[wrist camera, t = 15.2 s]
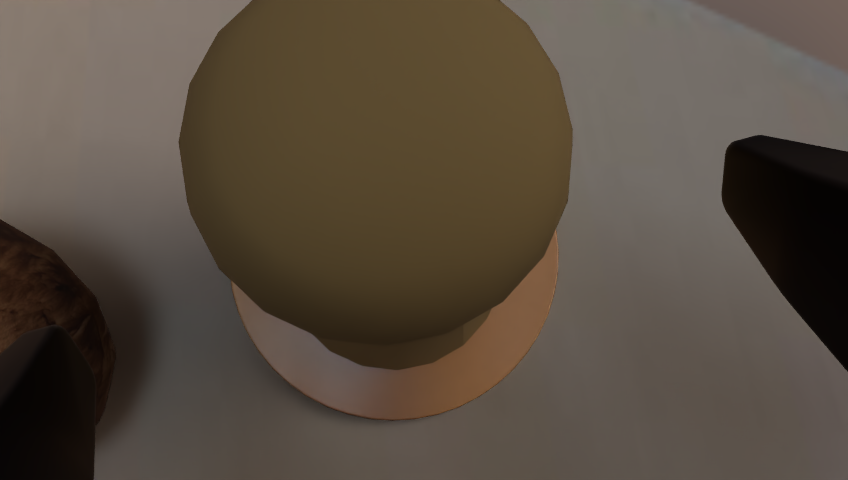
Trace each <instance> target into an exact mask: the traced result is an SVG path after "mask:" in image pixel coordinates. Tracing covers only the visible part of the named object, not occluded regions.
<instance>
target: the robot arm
mask: <svg viewBox="0 0 848 480" xmlns="http://www.w3.org/2000/svg"><path fill="white" fill-rule="evenodd" d="M722 202H723V205H724V208H725V210H726V212H727V214H728V215H729V217H730V218H731V220H732V221H733V223H734V224H735V226H736V227H737V229H738V230H739V231H740V233H741V234H742V236H743V237H744V239H745V240H746V242H747V243H748V245H749V246H750V248H751V249H752V251H753V252H754V254H755V255H756V257H757V258H758V260H759V261H760V263H761V264H762V266H763V267H764V269H765V270H766V272H767V273H768V275H769V276H770V278H771V279H772V281H773V282H774V283H775V285H776V286H777V287H778V289H779V290H780V292H781V293H782V294H783V296H784V297H785V298H786V299H787V301H788V302H789V303H790V304H791V306H792V307H793V308H794V309H795V310H796V312H797V313H798V314H799V315H800V316H801V317H802V319H803V320H804V321H805V322H806V323H807V324H808V326H809V327H810V328H811V329H812V330H813V332H814V333H815V334H816V335H817V336H818V337H819V339H820V340H821V341H822V342H823V343H824V344H825V346H826V347H827V348H828V349H829V350H830V352H831V353H832V354H833V355H834V356H835V357H836V359H837V360H838V361H839V362H840V363H841V364H842V366H843V367H844V368H845V369H846V370H847V371H848V152H846V151H841V150H836V149H831V148H826V147H821V146H815V145H810V144H805V143H800V142H795V141H790V140H784V139H779V138H774V137H769V136H764V135H757V136H752V137H749V138H745V139H741V140H738V141H734V142H732V143H731V144H730V145H729V146H728V148H727V150H726V154H725V162H724V173H723V184H722ZM95 415H96V380H95V376H94V373H93V370H92V368H91V367H90V365H89V364H88V362H87V360H86V359H85V357H84V356H83V354H82V353H81V351H80V350H79V348H78V347H77V345H76V344H75V342H74V341H73V339H72V338H71V336H70V335H69V333H68V332H67V331H66V330H65V329H64V328H63V327H62V326H58V325H51V326H47V327H43V328H39V329H36V330H32V331H28V332H26V333H24V334H22V335H21V336H20V337H19V338H18V339H17V340H15V341H14V342H13V343H12V344H11V345H10V346H9V347H8V348H7V349H5V350H4V351H3V352H2V353H1V354H0V480H94V454H95Z"/></svg>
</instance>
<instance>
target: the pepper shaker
mask: <svg viewBox="0 0 848 480" xmlns="http://www.w3.org/2000/svg"><path fill="white" fill-rule="evenodd" d="M179 148H180V155H181V162H182V168H183V175H184V182H185V189H186V196H187V202H188V206H189V209H190V213H191V216H192V217H193V219H194V221H195V223H196V225H197V227H198V229H199V231H200V233H201V235H202V237H203V239H204V241H205V243H206V245H207V246H208V248H209V250H210V252H211V254H212V256H213V258H214V260H215V262H216V264H217V266H218V268H219V269H220V270H221V271H222V272H223V273H224V274H225V275H226V276H227V277H228V278H229V279H230V280H231V281H232V282H234V283H235V284H236V285H237V286H238V287H239V288H240V289H241V290H242V291H243V292H244V293H245V294H246V295H247V296H248V297H249V298H250V299H251V300H252V301H253V302H254V303H255V304H257V305H258V306H259V307H260V308H261V309H262V310H263V311H264V312H266V313H268V314H270V315H272V316H274V317H277V318H279V319H281V320H283V321H285V322H287V323H289V324H292V325H294V326H296V327H298V328H300V329H302V330H304V331H307V332H309V333H311V334H312V335H313V336H314V337H316V338H317V339H318V340H319V341H320V342H321V343H322V344H323V345H324V346H325V347H326V348H327V349H328V350H329V351H331V352H333V353H335V354H337V355H339V356H342V357H344V358H346V359H348V360H350V361H352V362H354V363H357V364H359V365H361V366H366V367H374V368H383V369H391V370H401V369H406V368H411V367H416V366H420V365H425V364H430V363H433V362H435V361H437V360H439V359H440V358H442V357H444V356H446V355H447V354H449V353H451V352H453V351H454V350H456V349H458V348H460V347H461V346H463V345H464V344H465V343H466V342H467V341H468V340H469V339H470V337H471V336H472V335H473V334H474V333H475V332H476V331H477V330H478V328H479V327H480V326H481V325H482V324H483V323H484V322H485V321H486V320H487V318H488V316H489V313H490V311H491V309H492V308H493V307H495V306H497V305H499V304H500V303H502V302H503V301H504V300H505V299H506V298H507V297H508V296H509V295H510V294H511V292H512V291H513V290H514V289H515V288H516V287H517V286H518V285H519V284H520V282H521V281H522V280H523V279H524V278H525V277H526V276H527V275H528V274H529V272H530V271H531V270H532V269H533V268H534V267H535V266H536V265H537V264H538V262H539V261H540V260H541V259H542V258H543V257H544V255H545V253H546V251H547V248H548V246H549V244H550V241H551V239H552V237H553V234H554V232H555V230H556V227H557V225H558V223H559V220H560V218H561V216H562V213H563V211H564V209H565V206H566V204H567V202H568V192H569V180H570V167H571V154H572V125H571V121H570V117H569V113H568V109H567V105H566V101H565V97H564V93H563V89H562V85H561V81H560V77H559V73H558V72H557V70H556V68H555V67H554V65H553V64H552V62H551V60H550V59H549V57H548V56H547V54H546V52H545V51H544V49H543V48H542V46H541V45H540V43H539V41H538V40H537V38H536V37H535V35H534V33H533V32H532V30H531V29H530V27H529V25H528V24H527V23H526V22H525V21H523V20H522V19H521V18H520V17H519V16H518V15H516V14H515V13H514V12H513V11H512V10H510V9H509V8H508V7H507V6H506V5H505V4H503V3H502V2H501V1H500V0H252V1H251V2H250V3H249V4H248V5H247V6H246V7H245V8H244V9H243V10H242V11H241V12H239V13H238V14H237V15H236V16H235V17H234V18H233V19H232V20H231V21H230V22H229V23H228V24H227V25H226V26H225V27H224V28H222V29H221V30H220V31H219V32H218V34H217V36H216V37H215V39H214V41H213V43H212V45H211V46H210V48H209V50H208V52H207V54H206V55H205V57H204V59H203V61H202V63H201V64H200V66H199V68H198V70H197V71H196V73H195V75H194V77H193V79H192V80H191V82H190V85H189V90H188V95H187V100H186V106H185V111H184V116H183V122H182V127H181V132H180V137H179Z"/></svg>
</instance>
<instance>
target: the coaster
mask: <svg viewBox="0 0 848 480" xmlns="http://www.w3.org/2000/svg"><path fill="white" fill-rule="evenodd" d="M558 253H559V252H558V242H557V231H556V230H555V232H554V234H553V237H552V239H551V241H550V244H549V246H548V248H547V251H546V253H545V255H544V257H543V258H542V259H541V260H540V261H539V262H538V264H537V265H536V266H535V267H534V268H533V269H532V270H531V271H530V272H529V274H528V275H527V276H526V277H525V278H524V279H523V280H522V281H521V282H520V284H519V285H518V286H517V287H516V288H515V289H514V290H513V291H512V292H511V294H510V295H509V296H508V297H507V298H506V299H505V300H504V301H503V302H502V303H500V304H499V305H497V306H495V307H493V308H492V309H491V311H490V313H489V316H488V318H487V320H486V321H485V322H484V323H483V324H482V325H481V326H480V327H479V328H478V330H477V331H476V332H475V333H474V334H473V335H472V336H471V337H470V339H469V340H468V341H467V342H466V343H465V344H464V345H463V346H461V347H460V348H458V349H456V350H454V351H453V352H451V353H449V354H447V355H446V356H444V357H442V358H440V359H439V360H437V361H435V362H433V363H430V364H425V365H420V366H416V367H411V368H406V369H401V370H391V369H383V368H374V367H366V366H361V365H359V364H357V363H354V362H352V361H350V360H348V359H346V358H344V357H342V356H339V355H337V354H335V353H333V352H331V351H329V350H328V349H327V348H326V347H325V346H324V345H323V344H322V343H321V342H320V341H319V340H318V339H317V338H316V337H314V336H313V335H312V334H311V333H309V332H307V331H304V330H302V329H300V328H298V327H296V326H294V325H292V324H289V323H287V322H285V321H283V320H281V319H279V318H277V317H274V316H272V315H270V314H268V313H266V312H264V311H263V310H262V309H261V308H260V307H259V306H258V305H257V304H255V303H254V302H253V301H252V300H251V299H250V298H249V297H248V296H247V295H246V294H245V293H244V292H243V291H242V290H241V289H240V288H239V287H238V286H237V285H236V284H235V283H234V282H232V281H231V285H232V292H233V296H234V299H235V303H236V306H237V310H238V313H239V315H240V318H241V320H242V322H243V324H244V327H245V329H246V331H247V333H248V335H249V337H250V338H251V340H252V342H253V343H254V345H255V346H256V348H257V350H258V351H259V353H260V354H261V355H262V356H263V357H264V359H265V360H266V361H267V362H268V364H269V365H270V366H271V367H272V369H274V370H275V371H276V372H277V373H278V374H279V375H280V376H281V377H282V378H283V379H284V380H285V381H286V382H288V383H289V384H290V385H291V386H293V387H294V388H296V389H297V390H298V391H300V392H301V393H303V394H304V395H306V396H307V397H309V398H311V399H313V400H315V401H317V402H319V403H320V404H322V405H324V406H326V407H329V408H332V409H334V410H337V411H340V412H343V413H346V414H349V415H354V416H358V417H363V418H368V419H378V420H392V421H393V420H409V419H418V418H423V417H428V416H433V415H437V414H440V413H443V412H446V411H449V410H452V409H455V408H458V407H460V406H462V405H464V404H466V403H468V402H470V401H472V400H474V399H476V398H478V397H479V396H481V395H482V394H484V393H485V392H487V391H488V390H489V389H491V388H492V387H494V386H495V385H497V384H498V383H499V382H500V381H501V380H502V379H503V378H504V377H506V376H507V375H508V374H509V373H510V372H511V371H512V370H513V369H514V368H515V367H516V366H517V364H518V363H519V362H520V361H521V360H522V358H523V357H524V356H525V355H526V354H527V352H528V351H529V349H530V348H531V346H532V344H533V343H534V341H535V340H536V338H537V337H538V335H539V333H540V331H541V329H542V327H543V324H544V322H545V320H546V318H547V316H548V313H549V310H550V306H551V303H552V300H553V297H554V293H555V287H556V281H557V275H558Z"/></svg>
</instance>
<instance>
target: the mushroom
mask: <svg viewBox="0 0 848 480" xmlns="http://www.w3.org/2000/svg"><path fill="white" fill-rule="evenodd" d="M51 325H58V326H62V327H63V328H64V329H65V330H66V331H67V332H68V333H69V335H70V336H71V338H72V339H73V341H74V342H75V344H76V345H77V347H78V348H79V350H80V351H81V353H82V354H83V356H84V357H85V359H86V360H87V362H88V364H89V365H90V367H91V368H92V370H93V373H94V376H95V380H96V415H95V425H96V424H97V423H98V422H99V421H100V419H101V416H102V414H103V412H104V409H105V406H106V402H107V397H108V392H109V388H110V383H111V378H112V374H113V369H114V364H115V360H116V352H115V347H114V344H113V342H112V339H111V336H110V333H109V331H108V328H107V325H106V322H105V320H104V317H103V314H102V311H101V309H100V306H99V303H98V300H97V298H96V296H95V295H94V294H93V293H92V292H91V291H90V290H89V289H88V288H87V286H86V285H85V284H84V283H83V282H82V281H81V280H80V279H79V278H78V277H77V276H76V275H75V273H74V272H73V271H72V270H71V269H70V268H69V267H68V266H67V265H66V264H65V263H64V262H63V260H62V259H61V258H60V257H59V256H58V255H57V254H56V253H55V252H54V251H53V250H52V249H50V248H48V247H47V246H45V245H43V244H42V243H40V242H38V241H36V240H35V239H33V238H31V237H30V236H28V235H26V234H24V233H23V232H21V231H19V230H18V229H16V228H14V227H12V226H11V225H9V224H7V223H6V222H4V221H2V220H0V354H1V353H2V352H3V351H4V350H5V349H7V348H8V347H9V346H10V345H11V344H12V343H13V342H14V341H15V340H17V339H18V338H19V337H20V336H21V335H22V334H24V333H26V332H28V331H32V330H36V329H39V328H43V327H47V326H51Z"/></svg>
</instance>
